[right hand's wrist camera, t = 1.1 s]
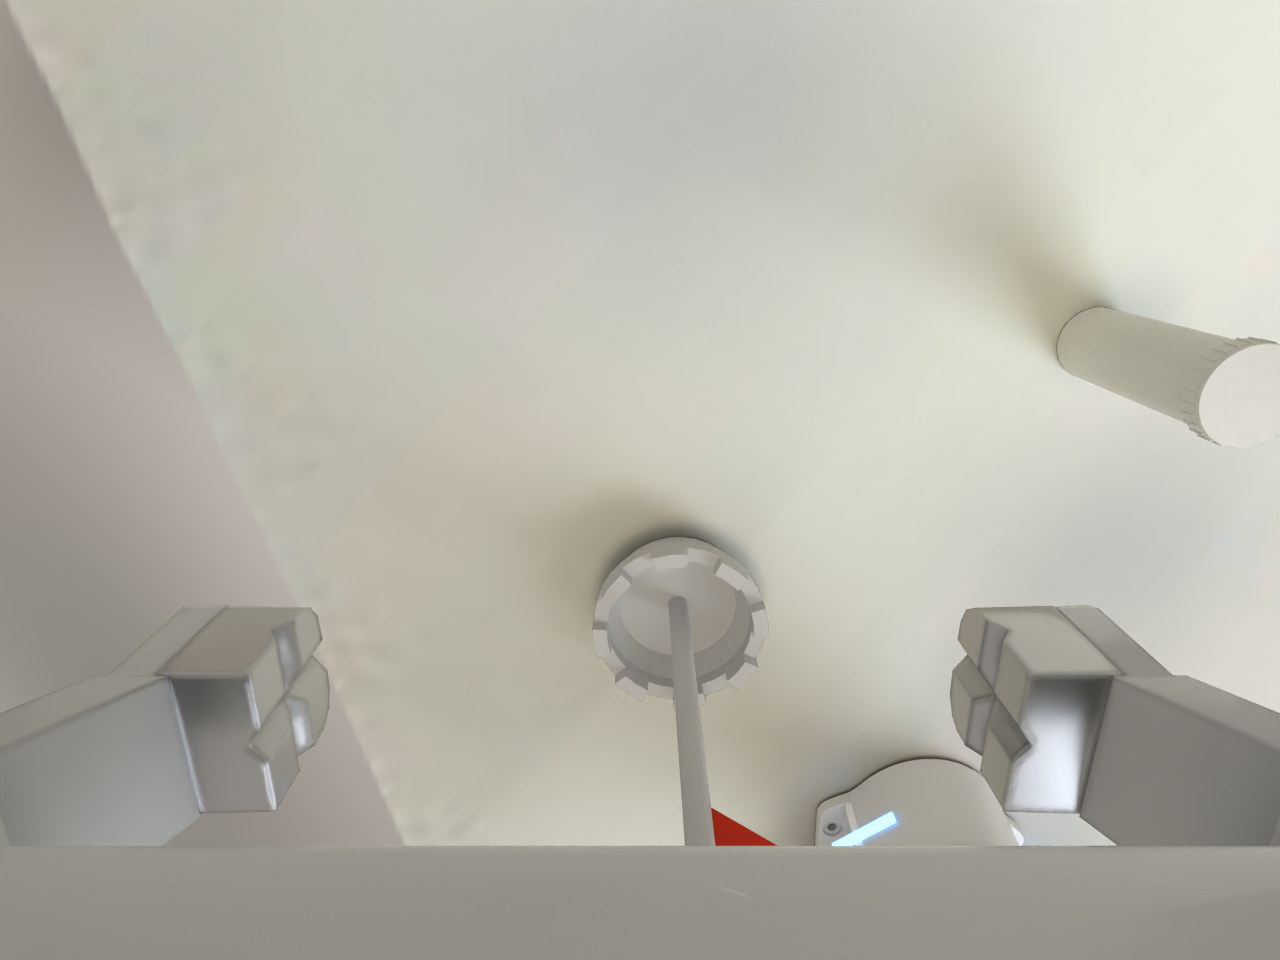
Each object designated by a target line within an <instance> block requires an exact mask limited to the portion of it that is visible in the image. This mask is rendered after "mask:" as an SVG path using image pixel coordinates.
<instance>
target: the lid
mask: <svg viewBox="0 0 1280 960" xmlns="http://www.w3.org/2000/svg"><path fill="white" fill-rule="evenodd" d="M1179 401H1180V408H1181V410H1180V412H1181V413H1182V416H1183V418H1184V420H1183V421H1184V422H1185V423H1187V425H1188V426H1189V427H1190V428H1189V430H1191V431H1193V432H1195V433H1197V436H1199V437H1201V438H1204V439H1206V440H1208V441H1210V442H1213V443H1216V444H1218V445H1220V446H1222V445H1224V446H1227V447H1232V448H1248V447H1253V446H1257V445H1260V444H1263V443H1265V442H1268V441H1270V440H1272V439H1273V438H1275V437H1277V436H1278V435H1280V345H1279V344H1277V342H1273V341H1269V340H1265V339H1257V338H1253V337H1248V338H1244V339H1241V338H1236V340H1231V341H1228V342H1227V341H1225V342H1224V343H1223V344H1221V345H1218V346H1216V347H1213V348H1212V349H1211V350H1210V351H1208V352H1207V353H1206V354H1204V355H1202V356H1201V358H1200V359H1199V360H1198V361H1197V362H1196V363H1195V364H1194V365H1193V366H1192V368H1191V370H1190V371H1189V373H1188V375H1187V376H1186V377H1185V381H1184V383H1183V386H1182V388H1181V394H1180V399H1179Z"/></svg>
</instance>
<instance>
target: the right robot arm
mask: <svg viewBox="0 0 1280 960" xmlns="http://www.w3.org/2000/svg"><path fill="white" fill-rule="evenodd" d="M321 641H322V635H321V630H320V625H319V620H318V616H317V615H316V613H315V612H314V611H313V610H312V609H311V608H307V607H252V606H232V607H230V606H228V605H218V606H191V607H183V608H182V609H181V610H180V611H178V612H177V613H176V614H175V615H174V616H173V617H172V618H171V619H170V620H168V621H167V622H166V623H165V624H164V625H163V626H162V627H161V628H159V629H158V630H157V631H156V632H155V633H154V634H153V635H152V636H151V637H149V638H148V639H147V640H146V641H145V642H144V643H143V644H142V645H141V646H139V647H138V648H137V649H136V650H135V651H134V652H133V653H132V654H131V655H129V656H128V657H127V658H126V659H125V660H124V661H123V662H122V663H121V664H119V665H118V666H117V667H116V668H115V669H114V670H113V671H112V672H110V673H109V674H108V675H107V676H92V677H89V678H87V679H84V680H82V681H79V682H77V683H74V684H72V685H69V686H67V687H64V688H62V689H59V690H57V691H54V692H52V693H49V694H47V695H44V696H42V697H39V698H37V699H34V700H32V701H29V702H27V703H25V704H22V705H20V706H17V707H15V708H12V709H10V710H7V711H5V712H2V713H0V960H1280V713H1278V712H1275V711H1273V710H1270V709H1268V708H1265V707H1263V706H1260V705H1258V704H1255V703H1253V702H1250V701H1248V700H1245V699H1243V698H1240V697H1238V696H1236V695H1233V694H1231V693H1228V692H1226V691H1223V690H1221V689H1218V688H1216V687H1213V686H1211V685H1208V684H1206V683H1203V682H1201V681H1198V680H1196V679H1193V678H1191V677H1188V676H1173V675H1172V674H1171V673H1170V672H1168V671H1167V670H1166V669H1165V668H1164V667H1163V666H1162V665H1161V664H1160V663H1158V662H1157V661H1156V660H1155V659H1154V658H1153V657H1152V656H1151V655H1150V654H1148V653H1147V652H1146V651H1145V650H1144V649H1143V648H1142V647H1141V646H1140V645H1138V644H1137V643H1136V642H1135V641H1134V640H1133V639H1132V638H1131V637H1130V636H1128V635H1127V634H1126V633H1125V632H1124V631H1123V630H1122V629H1121V628H1120V627H1119V626H1117V625H1116V624H1115V623H1114V622H1113V621H1112V620H1111V619H1110V618H1109V617H1107V616H1106V615H1105V614H1104V613H1103V612H1102V611H1101V610H1100V609H1099V608H1096V607H1092V606H1089V605H1077V606H1055V607H1054V606H1032V607H991V608H972V609H966V611H965V613H964V615H963V618H962V620H961V623H960V629H959V635H958V641H959V642H960V644H961V645H962V647H963V648H964V650H965V651H966V653H967V656H966V657H965V658H964V659H963V660H962V661H961V662H960V663H959V664H958V665H957V666H956V667H955V668H954V670H953V673H952V681H951V689H950V699H951V709H952V717H953V720H954V723H955V726H956V729H957V732H958V733H959V735H960V737H961V739H962V741H963V742H964V744H965V746H967V747H968V748H970V749H972V750H973V751H975V752H976V753H978V754H980V755H981V756H983V757H982V763H981V769H980V772H981V773H982V775H983V777H984V778H985V780H986V782H987V783H988V785H989V787H990V788H991V790H992V792H993V793H994V795H995V797H996V798H997V800H998V802H999V803H1000V805H1001V807H1002V808H1003V810H1004V812H1041V813H1077V814H1080V816H1079V817H1080V818H1082V819H1083V820H1084V821H1086V822H1087V823H1088V824H1090V825H1091V826H1092V827H1094V828H1095V829H1096V830H1098V831H1099V832H1100V833H1102V834H1103V835H1104V836H1106V837H1107V838H1108V839H1110V840H1111V841H1113V842H1114V843H1115V844H1117V845H1118V846H162V845H164V844H165V843H166V842H168V841H169V840H170V839H172V838H173V837H174V836H176V835H177V834H178V833H180V832H181V831H183V830H184V829H185V828H187V827H188V826H189V825H191V824H192V823H193V822H195V821H196V820H197V819H199V818H200V814H202V813H238V812H272V811H276V810H277V809H278V807H279V805H280V804H281V802H282V800H283V798H284V797H285V795H286V793H287V792H288V790H289V788H290V787H291V785H292V783H293V782H294V780H295V778H296V776H297V775H298V773H299V772H300V769H299V763H298V757H297V756H299V755H300V754H302V753H304V752H305V751H307V750H308V749H310V748H312V747H313V746H315V744H316V742H317V740H318V739H319V737H320V735H321V733H322V731H323V730H324V726H325V722H326V718H327V714H328V710H329V696H330V686H329V679H328V672H327V670H326V668H325V667H324V666H323V665H322V664H321V663H320V662H319V661H318V660H317V659H316V658H315V657H314V656H313V653H314V651H315V650H316V648H317V647H318V645H319V644H320V642H321Z"/></svg>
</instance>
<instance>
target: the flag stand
mask: <svg viewBox="0 0 1280 960" xmlns="http://www.w3.org/2000/svg"><path fill="white" fill-rule="evenodd" d="M592 630H593V645H594V648H595V652H596V655H597V658H598V659H599V658H603V660H604V662H605V663H606V665H607V666H608V667H609V668H610V669H611V671H612V672H613V673H614V674H615V675H616V677H615V684H616V685H617V686H618V687H620V688H621V689H622V690H624V691H625V692H626V693H627V694H629V695H631V696H633V697H635V698H637V699H639V700H641V701H642V700H643V698H644V696H645V695H646V694H649V695H652V696H655V697H661V698H668V699H673V703H674V708H676V721H677V736H678V750H679V765H680V779H681V794H682V808H683V823H684V837H685V846H777V845H775V844H774V843H772V842H770V841H768V840H767V839H765V838H763V837H761V836H760V835H758V834H756V833H754V832H753V831H751V830H749V829H747V828H746V827H744V826H742V825H740V824H739V823H737V822H735V821H734V820H732V819H730V818H728V817H727V816H725V815H723V814H721V813H720V812H718V811H716V810H714V809H713V808H711V803H710V795H709V786H708V777H707V769H706V760H705V751H704V743H703V734H702V725H701V717H700V708H699V706H702V705H707V702H706V695H708V694H711V693H714V692H716V691H719V690H721V689H723V688H724V687H726V686H728V685H729V684H730V685H731V686H732V687H733V688H734V689H735V690H737V689H738V688H739V687H740V686H742V685H743V684H744V683H745V682H746V681H747V680H748V679H749V678H750V677H751V675H752V674H753V673H754V672H755V670H756V669H757V668H758V666H757V662H756V657H757V655H758V653H759V651H760V649H761V647H762V645H763V641H764V639H768V619H767V614H766V609H765V606H764V603H763V599H762V596H761V593H760V591H759V589H758V586H757V584H756V582H755V580H754V579H753V577H752V576H751V575H750V573H749V572H748V571H747V569H746V568H745V567H744V566H743V565H742V564H740V563H739V562H738V561H737V560H736V559H735V558H734V557H732V556H730V555H729V554H727V553H725V552H723V551H722V550H720V549H718V548H716V547H715V546H713V545H711V544H709V543H707V542H704V541H701V540H698V539H693V538H686V537H669V538H664V539H659V540H655V541H653V542H650V543H648V544H646V545H643V546H642V547H640V548H639V549H637V550H635V551H634V552H632V553H631V554H630V555H629V556H628V557H627V558H626V559H624V560H623V561H622V562H621V563H620V564H619V565H618V566H617V567H616V568H615V569H614V570H613V571H612V572H611V573H610V574H609V576H608V577H607V579H606V580H605V582H604V583H603V585H602V587H601V589H600V592H599V594H598V597H597V599H596V605H595V612H594V620H593V629H592Z"/></svg>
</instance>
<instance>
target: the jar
mask: <svg viewBox="0 0 1280 960" xmlns="http://www.w3.org/2000/svg"><path fill="white" fill-rule="evenodd" d="M1231 340H1233V339H1229V338H1225V337H1221V336H1217V335H1213V334H1209V333H1205V332H1201V331H1197V330H1193V329H1189V328H1185V327H1181V326H1177V325H1173V324H1169V323H1165V322H1161V321H1157V320H1153V319H1149V318H1145V317H1141V316H1137V315H1133V314H1129V313H1125V312H1121V311H1117V310H1114V309H1110V308H1105V307H1095V308H1090V309H1087V310H1084V311H1082V312H1080V313H1079V314H1077V315H1075V316H1074V317H1073V318H1072V319H1071V320H1070V321H1069V322H1068V323H1067V324H1066V325H1065V326H1064V328H1063V330H1062V331H1061V333H1060V336H1059V339H1058V343H1057V355H1058V359H1059V362H1060V363H1061V365H1062V367H1063V368H1064V369H1065V370H1066V371H1067V372H1069V373H1070V374H1072V375H1074V376H1076V377H1079V378H1081V379H1083V380H1086V381H1088V382H1090V383H1093V384H1095V385H1097V386H1100V387H1102V388H1104V389H1107V390H1109V391H1112V392H1114V393H1116V394H1119V395H1121V396H1123V397H1126V398H1128V399H1130V400H1133V401H1135V402H1137V403H1140V404H1142V405H1144V406H1147V407H1149V408H1151V409H1154V410H1156V411H1158V412H1161V413H1163V414H1166V415H1168V416H1170V417H1173V418H1175V419H1177V420H1180V421H1182V422H1184V421H1183V420H1184V418H1183V416H1182V413H1181V412H1180V410H1181V408H1180V401H1179V399H1180V394H1181V388H1182V386H1183V383H1184V381H1185V377H1186V376H1187V375H1188V373H1189V371H1190V370H1191V368H1192V366H1193V365H1194V364H1195V363H1196V362H1197V361H1198V360H1199V359H1200V358H1201V356H1202V355H1204V354H1206V353H1207V352H1208V351H1210V350H1211V349H1212V348H1213V347H1216V346H1218V345H1221V344H1223V343H1224V342H1225V341H1227V342H1228V341H1231ZM1184 423H1185V422H1184Z"/></svg>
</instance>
